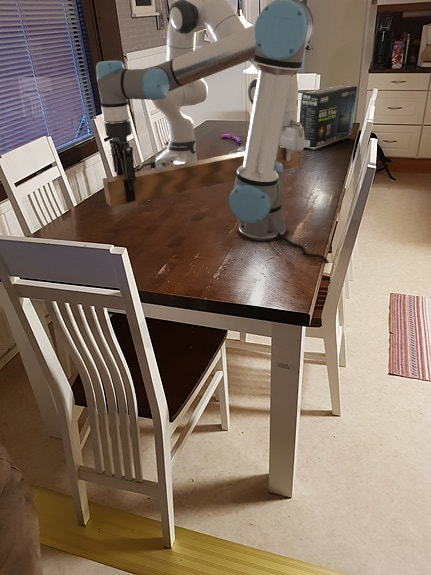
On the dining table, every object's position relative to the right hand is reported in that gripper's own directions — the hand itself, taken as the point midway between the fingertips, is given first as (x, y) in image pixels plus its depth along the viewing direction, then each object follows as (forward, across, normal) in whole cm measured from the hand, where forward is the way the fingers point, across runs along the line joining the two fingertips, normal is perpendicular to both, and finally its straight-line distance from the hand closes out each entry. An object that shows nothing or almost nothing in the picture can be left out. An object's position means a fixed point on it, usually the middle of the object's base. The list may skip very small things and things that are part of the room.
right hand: (128, 198), depth 143 cm
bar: (+1, 0, -30) cm, 30 cm away
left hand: (-2, 0, -60) cm, 60 cm away
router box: (+13, +54, -130) cm, 142 cm away
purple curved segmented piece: (+13, +91, -94) cm, 131 cm away
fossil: (+13, +56, -81) cm, 99 cm away
